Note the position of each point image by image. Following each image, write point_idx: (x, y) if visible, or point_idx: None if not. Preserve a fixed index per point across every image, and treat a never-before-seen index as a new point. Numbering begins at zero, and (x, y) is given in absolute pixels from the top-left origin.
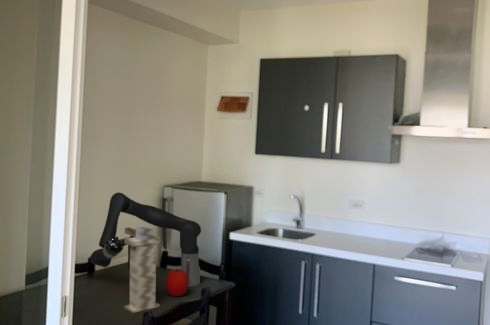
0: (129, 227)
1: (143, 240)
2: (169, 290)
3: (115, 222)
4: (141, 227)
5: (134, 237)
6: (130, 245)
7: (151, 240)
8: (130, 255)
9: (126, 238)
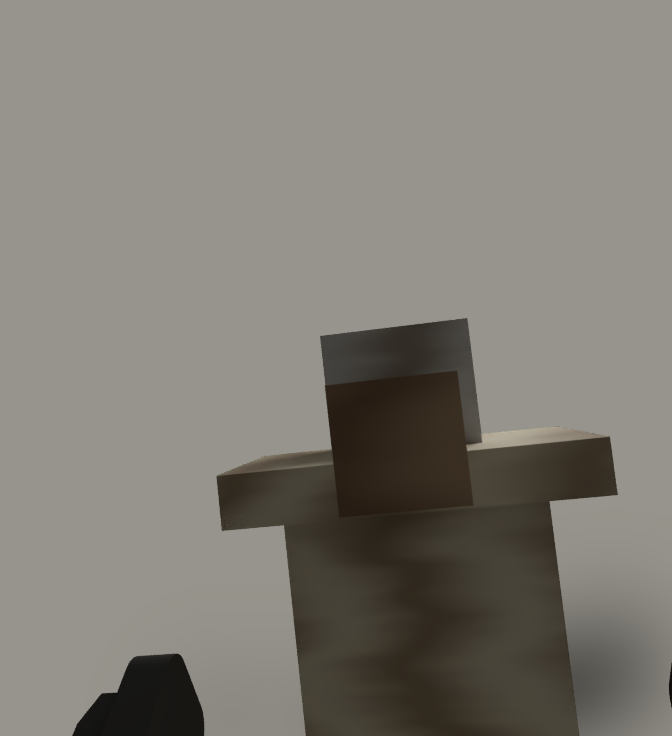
0: (327, 385)
1: None
2: None
3: None
4: (401, 327)
5: None
6: (548, 518)
7: None
8: (564, 641)
9: (580, 439)
